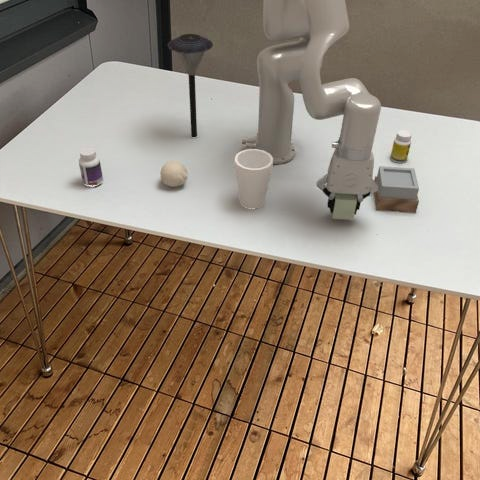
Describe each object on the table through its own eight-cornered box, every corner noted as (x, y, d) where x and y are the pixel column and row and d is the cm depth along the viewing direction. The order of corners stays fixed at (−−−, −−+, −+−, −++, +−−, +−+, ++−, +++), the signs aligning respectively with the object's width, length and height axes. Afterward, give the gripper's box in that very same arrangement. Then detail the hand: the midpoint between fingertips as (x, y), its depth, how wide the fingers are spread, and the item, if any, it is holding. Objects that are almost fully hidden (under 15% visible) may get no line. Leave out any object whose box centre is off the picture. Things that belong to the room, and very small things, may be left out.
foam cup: (258, 217, 143) (260, 174, 135) (227, 205, 147) (227, 162, 138) (276, 198, 149) (279, 156, 141) (246, 187, 153) (247, 145, 144)
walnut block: (376, 211, 146) (378, 198, 144) (372, 188, 154) (374, 176, 151) (415, 213, 146) (418, 201, 143) (409, 190, 153) (413, 178, 151)
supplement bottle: (406, 164, 163) (413, 138, 157) (390, 162, 163) (395, 136, 158) (406, 155, 166) (412, 130, 161) (390, 153, 167) (395, 128, 161)
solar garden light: (205, 150, 166) (203, 50, 147) (167, 142, 169) (159, 43, 150) (220, 130, 175) (219, 33, 156) (183, 123, 178) (178, 27, 158)
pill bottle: (107, 178, 155) (102, 147, 148) (97, 189, 151) (91, 158, 145) (89, 174, 156) (83, 144, 150) (79, 185, 152) (72, 154, 146)
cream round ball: (182, 194, 150) (181, 173, 146) (157, 188, 152) (155, 167, 148) (192, 180, 155) (191, 159, 151) (168, 174, 157) (166, 154, 152)
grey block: (379, 197, 144) (382, 186, 142) (376, 177, 151) (379, 166, 149) (416, 199, 144) (419, 188, 141) (411, 179, 150) (414, 168, 148)
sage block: (332, 218, 140) (336, 199, 136) (331, 205, 144) (334, 186, 140) (352, 219, 140) (357, 200, 136) (351, 207, 144) (355, 188, 140)
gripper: (317, 155, 127) (308, 217, 139) (394, 159, 126) (378, 222, 138) (316, 136, 132) (307, 198, 144) (390, 141, 132) (375, 202, 144)
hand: (342, 209), depth 141 cm, fingers closed on sage block, 5 cm apart
